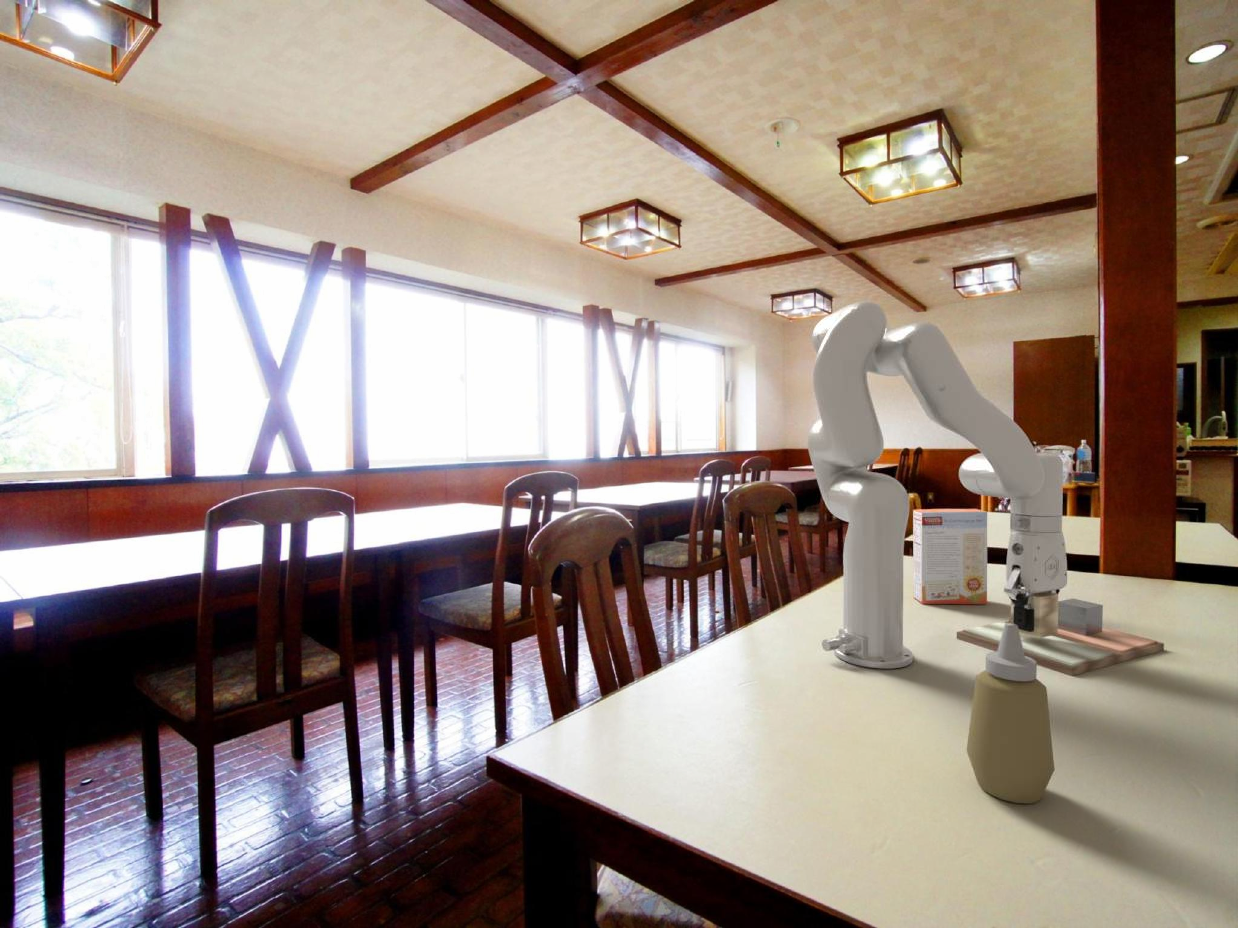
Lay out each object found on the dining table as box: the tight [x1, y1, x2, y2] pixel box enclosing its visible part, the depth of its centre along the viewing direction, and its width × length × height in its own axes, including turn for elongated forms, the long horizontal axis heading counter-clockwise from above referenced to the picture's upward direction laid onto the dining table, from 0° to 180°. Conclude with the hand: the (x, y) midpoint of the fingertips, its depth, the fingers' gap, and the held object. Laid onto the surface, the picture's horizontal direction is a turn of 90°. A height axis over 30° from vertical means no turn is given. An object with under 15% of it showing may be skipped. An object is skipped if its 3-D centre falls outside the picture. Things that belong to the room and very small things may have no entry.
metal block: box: [1058, 598, 1104, 636], centre depth 114 cm, size 5×5×5 cm
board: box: [956, 619, 1165, 677], centre depth 112 cm, size 26×20×2 cm
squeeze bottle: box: [966, 623, 1055, 805], centre depth 67 cm, size 8×8×18 cm
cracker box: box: [912, 508, 988, 605], centre depth 140 cm, size 14×6×21 cm, turn 84°
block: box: [1010, 588, 1059, 638], centre depth 109 cm, size 5×5×7 cm
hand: (1034, 626), depth 109 cm, fingers closed on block, 5 cm apart
